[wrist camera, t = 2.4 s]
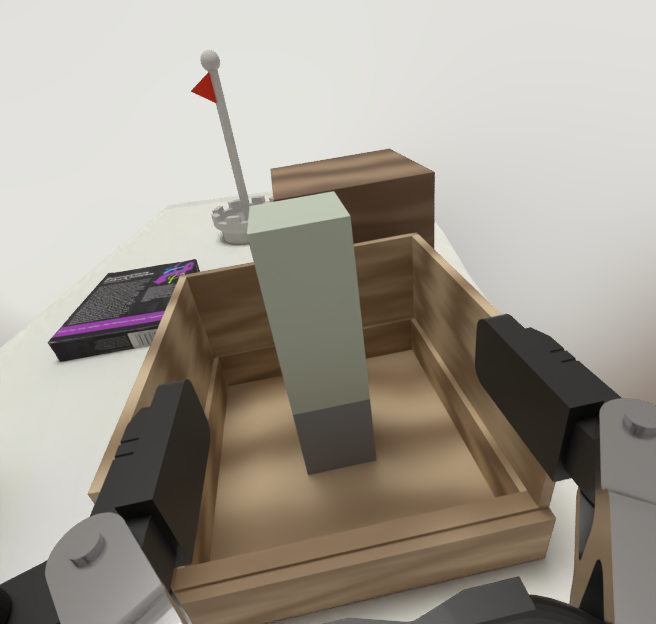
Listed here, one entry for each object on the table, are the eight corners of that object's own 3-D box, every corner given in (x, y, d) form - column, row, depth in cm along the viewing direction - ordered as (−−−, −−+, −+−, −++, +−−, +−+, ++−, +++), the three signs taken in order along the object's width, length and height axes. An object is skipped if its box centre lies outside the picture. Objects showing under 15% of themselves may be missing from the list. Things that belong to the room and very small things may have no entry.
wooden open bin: (544, 557, 22) (590, 400, 16) (185, 641, 21) (81, 508, 15) (418, 345, 39) (416, 232, 33) (220, 385, 38) (180, 275, 32)
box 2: (376, 460, 28) (350, 215, 19) (307, 475, 28) (246, 234, 19) (361, 410, 32) (334, 191, 23) (301, 422, 32) (249, 206, 23)
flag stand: (252, 219, 84) (212, 54, 69) (298, 224, 77) (266, 41, 62) (205, 242, 76) (147, 59, 60) (252, 250, 69) (201, 44, 53)
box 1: (178, 347, 47) (203, 275, 63) (168, 323, 45) (196, 255, 62) (60, 366, 46) (116, 289, 63) (45, 343, 45) (107, 269, 61)
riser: (433, 326, 42) (434, 171, 34) (304, 351, 41) (273, 200, 33) (395, 272, 54) (389, 148, 46) (295, 291, 53) (270, 168, 45)
